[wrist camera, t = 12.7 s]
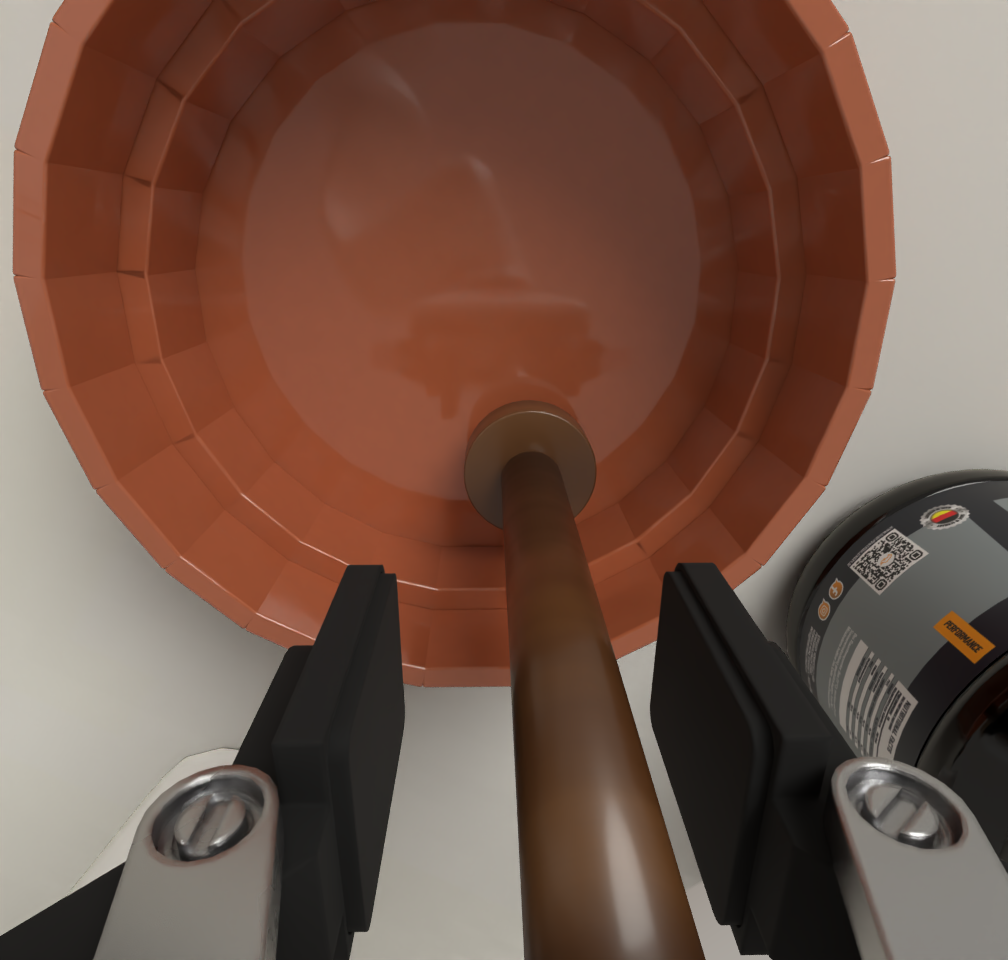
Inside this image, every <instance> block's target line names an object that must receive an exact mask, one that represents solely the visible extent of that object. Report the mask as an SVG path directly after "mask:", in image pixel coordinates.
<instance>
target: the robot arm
mask: <svg viewBox="0 0 1008 960" xmlns="http://www.w3.org/2000/svg"><path fill="white" fill-rule="evenodd" d="M650 716H651V723H652V728H653V731H654V734H655V737H656V740H657V743H658V746H659V749H660V752H661V755H662V758H663V761H664V764H665V767H666V770H667V774H668V777H669V780H670V783H671V786H672V789H673V792H674V795H675V798H676V801H677V804H678V807H679V810H680V813H681V816H682V819H683V822H684V825H685V828H686V831H687V834H688V837H689V840H690V843H691V846H692V849H693V852H694V855H695V858H696V862H697V865H698V868H699V871H700V874H701V877H702V880H703V883H704V886H705V889H706V891H707V895H708V898H709V901H710V904H711V907H712V910H713V913H714V916H715V917H716V920H717V921H718V923H719V924H720V925H730V926H731V929H732V931H733V934H734V937H735V940H736V943H737V946H738V949H739V952H740V954H741V955H766V954H767V955H769V957H770V958H771V959H772V960H1008V863H1007V862H1005V861H1003V860H1001V859H999V858H998V856H997V855H996V853H995V851H994V849H993V848H992V846H991V844H990V842H989V841H988V839H987V837H986V835H985V833H984V832H983V830H982V828H981V826H980V825H979V823H978V821H977V819H976V818H975V816H974V814H973V813H972V812H971V811H970V809H969V808H968V807H967V805H966V804H965V803H964V801H963V800H962V799H961V798H960V797H959V796H958V795H957V794H955V793H954V792H953V791H952V790H951V789H950V788H949V787H947V786H946V785H945V784H944V783H942V782H941V781H939V780H937V779H936V778H934V777H932V776H931V775H929V774H927V773H926V772H924V771H922V770H920V769H917V768H915V767H912V766H910V765H908V764H905V763H903V762H899V761H895V760H891V759H886V758H882V757H858V758H857V756H856V755H855V754H854V752H853V751H852V749H851V748H850V746H849V745H848V744H847V742H846V741H845V739H844V738H843V736H842V735H841V734H840V732H839V731H838V729H837V728H836V726H835V725H834V724H833V722H832V721H831V719H830V718H829V716H828V715H827V714H826V712H825V711H824V709H823V708H822V706H821V705H820V704H819V702H818V701H817V699H816V698H815V696H814V695H813V694H812V692H811V691H810V689H809V688H808V686H807V685H806V684H805V682H804V681H803V679H802V678H801V677H800V675H799V674H798V672H797V671H796V669H795V668H794V667H793V665H792V664H791V662H790V661H789V659H788V658H787V657H786V655H785V654H784V652H783V651H782V649H781V648H780V647H779V646H778V645H777V644H776V643H774V642H771V641H767V640H766V638H765V637H764V635H763V634H762V632H761V631H760V629H759V628H758V626H757V625H756V624H755V622H754V621H753V619H752V618H751V616H750V615H749V613H748V612H747V610H746V609H745V607H744V606H743V604H742V603H741V601H740V600H739V599H738V597H737V596H736V594H735V593H734V591H733V590H732V588H731V587H730V585H729V584H728V582H727V581H726V579H725V578H724V577H723V575H722V574H721V572H720V571H719V569H718V568H717V566H716V565H715V564H714V563H678V564H677V565H676V567H675V570H674V571H666V572H665V574H664V577H663V585H662V595H661V604H660V614H659V624H658V633H657V643H656V653H655V663H654V672H653V682H652V692H651V702H650ZM404 721H405V703H404V687H403V671H402V654H401V638H400V621H399V605H398V589H397V577H396V574H395V573H385V570H384V566H383V565H348V566H347V567H346V570H345V572H344V574H343V577H342V579H341V581H340V584H339V586H338V588H337V591H336V593H335V595H334V598H333V600H332V602H331V605H330V607H329V609H328V612H327V614H326V616H325V619H324V621H323V624H322V626H321V628H320V631H319V633H318V635H317V638H316V640H315V642H314V645H294V646H292V647H290V648H289V649H288V651H287V652H286V654H285V656H284V658H283V660H282V662H281V664H280V666H279V669H278V671H277V673H276V675H275V677H274V679H273V681H272V683H271V685H270V687H269V689H268V691H267V693H266V695H265V698H264V700H263V702H262V704H261V706H260V708H259V710H258V712H257V714H256V716H255V718H254V720H253V722H252V724H251V727H250V729H249V731H248V733H247V735H246V737H245V739H244V741H243V743H242V745H241V747H240V749H239V751H238V753H237V756H236V758H235V760H234V762H233V764H232V765H222V766H217V767H213V768H209V769H206V770H202V771H199V772H197V773H195V774H192V775H190V776H188V777H186V778H184V779H182V780H180V781H178V782H177V783H175V784H174V785H173V786H171V787H170V788H169V789H167V790H166V791H164V792H163V793H162V794H160V796H159V797H158V798H157V799H156V800H155V801H154V802H153V803H152V804H151V805H150V807H149V808H148V809H147V810H146V811H145V813H144V815H143V817H142V819H141V821H140V823H139V825H138V827H137V829H136V832H135V835H134V838H133V841H132V844H131V847H130V850H129V853H128V856H127V860H126V861H125V862H123V863H122V864H120V865H118V866H117V867H115V868H113V869H112V870H110V871H108V872H107V873H105V874H103V875H102V876H100V877H98V878H97V879H95V880H93V881H92V882H90V883H88V884H87V885H85V886H83V887H82V888H80V889H78V890H77V891H75V892H73V893H72V894H70V895H68V896H67V897H65V898H63V899H62V900H60V901H58V902H57V903H55V904H53V905H52V906H50V907H48V908H47V909H45V910H43V911H41V912H40V913H38V914H36V915H35V916H33V917H31V918H30V919H28V920H26V921H25V922H23V923H21V924H20V925H18V926H16V927H15V928H13V929H11V930H10V931H8V932H6V933H5V934H3V935H1V936H0V960H349V958H350V953H351V947H352V942H353V937H354V932H367V931H368V930H369V927H370V923H371V918H372V912H373V907H374V901H375V895H376V889H377V883H378V877H379V872H380V866H381V860H382V854H383V848H384V842H385V837H386V831H387V825H388V819H389V813H390V807H391V802H392V796H393V790H394V784H395V778H396V772H397V767H398V761H399V755H400V749H401V743H402V737H403V731H404Z"/></svg>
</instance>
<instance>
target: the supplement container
mask: <svg viewBox="0 0 1008 960" xmlns="http://www.w3.org/2000/svg"><path fill="white" fill-rule="evenodd" d="M786 643H787V653H788V657H789V661H790V662H791V664H792V665H793V667H794V668H795V669H796V671H797V672H798V674H799V675H800V677H801V678H802V679H803V681H804V682H805V684H806V685H807V686H808V688H809V689H810V691H811V692H812V694H813V695H814V696H815V698H816V699H817V701H818V702H819V704H820V705H821V706H822V708H823V709H824V711H825V712H826V714H827V715H828V716H829V718H830V719H831V721H832V722H833V724H834V725H835V726H836V728H837V729H838V731H839V732H840V734H841V735H842V736H843V738H844V739H845V741H846V742H847V744H848V745H849V746H850V748H851V749H852V751H853V752H854V754H855V755H856V756H857V758H858V757H882V758H886V759H891V760H895V761H899V762H903V763H905V764H908V765H910V766H912V767H915V768H917V769H920V770H922V771H924V772H926V773H927V774H929V775H931V776H932V777H934V778H936V779H937V780H939V781H941V782H942V783H944V784H945V785H946V786H947V787H949V788H950V789H951V790H952V791H953V792H954V793H955V794H957V795H958V796H959V797H960V798H961V799H962V800H963V801H964V803H965V804H966V805H967V807H968V808H969V809H970V811H971V812H972V813H973V814H974V816H975V818H976V819H977V821H978V823H979V825H980V826H981V828H982V830H983V832H984V833H985V835H986V837H987V839H988V841H989V842H990V844H991V846H992V848H993V849H994V851H995V853H996V855H997V856H998V858H999V859H1001V860H1003V861H1005V862H1007V863H1008V471H1004V470H990V469H970V470H959V471H951V472H944V473H940V474H935V475H931V476H927V477H924V478H920V479H917V480H914V481H911V482H908V483H906V484H904V485H901V486H899V487H896V488H894V489H892V490H890V491H888V492H886V493H884V494H882V495H880V496H878V497H877V498H875V499H874V500H872V501H870V502H869V503H867V504H866V505H864V506H862V507H861V508H860V509H858V510H857V511H856V512H854V513H853V514H852V515H850V516H849V517H848V518H847V519H845V520H844V521H843V522H842V523H841V524H840V525H839V526H838V527H836V528H835V529H834V530H833V532H832V533H831V534H830V535H829V536H828V537H827V538H826V539H825V540H824V541H823V542H822V544H821V545H820V546H819V548H818V549H817V550H816V551H815V553H814V554H813V556H812V557H811V559H810V560H809V562H808V563H807V565H806V566H805V568H804V570H803V572H802V574H801V576H800V578H799V580H798V582H797V585H796V587H795V590H794V592H793V595H792V598H791V602H790V606H789V610H788V617H787V625H786Z"/></svg>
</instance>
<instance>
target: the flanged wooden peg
mask: <svg viewBox="0 0 1008 960" xmlns="http://www.w3.org/2000/svg"><path fill="white" fill-rule="evenodd" d="M596 474H597V467H596V460H595V456H594V452H593V450H592V448H591V445H590V443H589V441H588V439H587V437H586V435H585V433H584V431H583V429H582V428H581V426H580V425H579V423H578V422H577V421H576V420H575V419H574V418H573V417H572V416H571V415H570V414H569V413H567V412H566V411H564V410H563V409H561V408H559V407H557V406H555V405H552V404H550V403H547V402H542V401H535V400H522V401H516V402H512V403H509V404H505V405H503V406H501V407H499V408H497V409H495V410H494V411H492V412H490V413H489V414H488V415H487V416H486V417H484V418H483V419H482V420H481V422H480V423H479V424H478V425H477V426H476V428H475V429H474V431H473V433H472V435H471V436H470V439H469V441H468V444H467V448H466V453H465V462H464V484H465V489H466V492H467V495H468V498H469V499H470V501H471V503H472V505H473V506H474V508H475V509H476V511H477V512H478V513H479V514H480V515H481V516H482V517H483V518H484V519H485V520H486V521H488V522H489V523H490V524H492V525H494V526H495V527H497V528H499V529H501V530H503V533H504V553H505V574H506V594H507V614H508V635H509V655H510V675H511V696H512V716H513V736H514V757H515V777H516V797H517V818H518V838H519V858H520V878H521V899H522V919H523V939H524V960H706V959H705V957H704V953H703V950H702V946H701V943H700V939H699V936H698V933H697V929H696V926H695V923H694V919H693V916H692V912H691V909H690V906H689V902H688V899H687V896H686V892H685V889H684V886H683V882H682V879H681V876H680V872H679V869H678V865H677V862H676V859H675V855H674V852H673V849H672V845H671V842H670V839H669V835H668V832H667V829H666V825H665V822H664V818H663V815H662V812H661V808H660V805H659V802H658V798H657V795H656V792H655V788H654V785H653V782H652V778H651V775H650V771H649V768H648V765H647V761H646V758H645V755H644V751H643V748H642V745H641V741H640V738H639V735H638V731H637V728H636V724H635V721H634V718H633V714H632V711H631V708H630V704H629V701H628V698H627V694H626V691H625V688H624V684H623V681H622V677H621V674H620V671H619V667H618V664H617V661H616V657H615V654H614V651H613V647H612V644H611V641H610V637H609V634H608V630H607V627H606V624H605V620H604V617H603V614H602V610H601V607H600V604H599V600H598V597H597V594H596V590H595V587H594V583H593V580H592V577H591V573H590V570H589V567H588V563H587V560H586V557H585V553H584V550H583V547H582V543H581V540H580V536H579V533H578V530H577V526H576V523H575V520H574V518H575V517H576V516H577V515H578V514H579V513H580V512H581V511H582V510H583V509H584V507H585V506H586V504H587V503H588V501H589V500H590V497H591V495H592V493H593V490H594V487H595V482H596Z"/></svg>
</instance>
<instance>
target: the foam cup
mask: <svg viewBox="0 0 1008 960" xmlns="http://www.w3.org/2000/svg"><path fill="white" fill-rule="evenodd" d="M238 751H239V750H234V749H225V748H219V749H216V750H212V751H208V752H204V753H200V754H196V755H193V756H189V757H186V758H184V759H183V760H182V761H181V762H180V763H179V764H177V765H176V766H175V767H174V768H173V769H172V770H170V771H169V772H168V773H167V774H166V775H165V776H163V777H162V779H161V780H160V782H159V784H158V785H157V786H156V787H155V788H154V789H152V790H151V791H150V793H149V794H148V795H147V796H146V798H145V799H144V800H143V801H142V803H141V804H140V805H139V806H138V808H137V809H136V810H135V811H134V813H133V814H132V815H131V816H130V818H129V819H128V820H127V821H126V822H125V824H124V825H123V826H122V827H121V829H120V830H119V831H118V832H117V834H116V835H115V836H114V837H113V839H112V840H111V841H110V842H109V844H108V845H107V846H106V847H105V849H104V850H103V851H102V852H101V854H100V855H99V856H98V857H97V858H96V860H95V861H94V862H93V863H92V865H91V866H90V867H89V868H88V870H87V871H86V872H85V873H84V875H83V876H82V877H81V878H80V880H79V881H78V882H77V883H76V885H75V886H74V887H73V888H72V890H71V891H70V892H69V893H68V894H67V896H68V895H70V894H72V893H73V892H75V891H77V890H78V889H80V888H82V887H83V886H85V885H87V884H88V883H90V882H92V881H93V880H95V879H97V878H98V877H100V876H102V875H103V874H105V873H107V872H108V871H110V870H112V869H113V868H115V867H117V866H118V865H120V864H122V863H123V862H125V861H126V860H127V856H128V853H129V850H130V847H131V844H132V841H133V838H134V835H135V832H136V829H137V827H138V825H139V823H140V821H141V819H142V817H143V815H144V813H145V811H146V810H147V809H148V808H149V807H150V805H151V804H152V803H153V802H154V801H155V800H156V799H157V798H158V797H159V796H160V794H162V793H163V792H164V791H166V790H167V789H169V788H170V787H171V786H173V785H174V784H175V783H177V782H178V781H180V780H182V779H184V778H186V777H188V776H190V775H192V774H195V773H197V772H199V771H202V770H206V769H209V768H213V767H217V766H222V765H232V764H233V762H234V760H235V758H236V756H237V753H238ZM67 896H66V897H67Z"/></svg>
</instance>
